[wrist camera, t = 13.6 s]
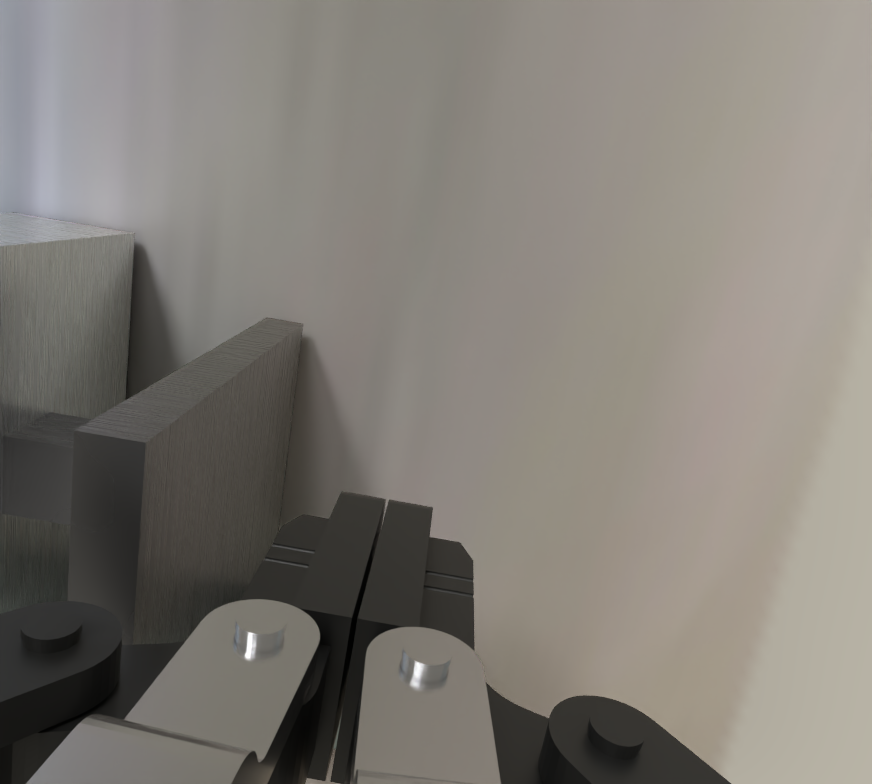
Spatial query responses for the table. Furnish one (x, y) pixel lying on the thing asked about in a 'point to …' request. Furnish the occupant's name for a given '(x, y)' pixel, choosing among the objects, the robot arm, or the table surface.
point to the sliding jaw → (129, 443)
